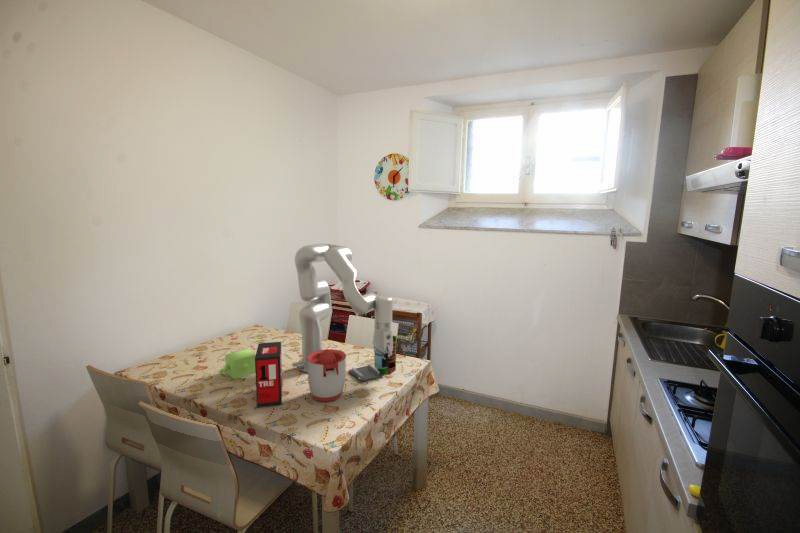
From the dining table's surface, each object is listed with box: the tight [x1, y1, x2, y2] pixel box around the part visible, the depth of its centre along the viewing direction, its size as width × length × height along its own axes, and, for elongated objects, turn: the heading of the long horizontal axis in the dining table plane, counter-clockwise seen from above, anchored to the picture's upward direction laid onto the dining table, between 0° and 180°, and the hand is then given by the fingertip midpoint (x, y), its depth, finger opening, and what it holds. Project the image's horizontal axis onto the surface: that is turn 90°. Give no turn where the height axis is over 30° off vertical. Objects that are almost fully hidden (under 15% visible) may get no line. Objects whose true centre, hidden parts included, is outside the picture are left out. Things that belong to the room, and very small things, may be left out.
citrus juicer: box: [307, 348, 347, 402], centre depth 147 cm, size 16×17×20 cm
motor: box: [376, 335, 398, 375], centre depth 173 cm, size 10×9×20 cm
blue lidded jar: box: [373, 349, 387, 369], centre depth 159 cm, size 6×6×7 cm
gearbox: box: [219, 348, 256, 380], centre depth 167 cm, size 18×10×10 cm, turn 137°
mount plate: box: [348, 363, 384, 384], centre depth 168 cm, size 11×13×2 cm
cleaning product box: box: [254, 341, 283, 409], centre depth 146 cm, size 16×9×20 cm, turn 17°
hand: (381, 363), depth 159 cm, fingers closed on blue lidded jar, 6 cm apart
